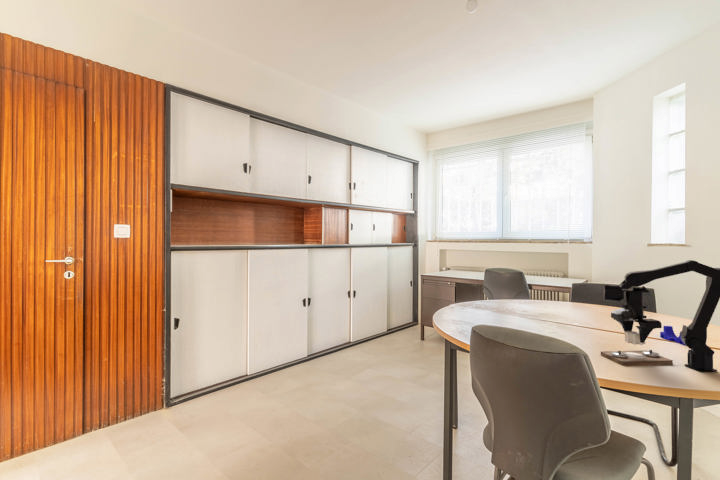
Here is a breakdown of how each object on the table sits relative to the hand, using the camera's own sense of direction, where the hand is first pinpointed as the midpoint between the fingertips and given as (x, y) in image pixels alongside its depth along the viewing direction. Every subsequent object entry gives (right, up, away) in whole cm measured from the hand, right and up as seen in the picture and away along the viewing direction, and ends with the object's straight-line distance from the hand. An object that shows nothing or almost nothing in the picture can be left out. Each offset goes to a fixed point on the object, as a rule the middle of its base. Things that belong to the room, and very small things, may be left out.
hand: (635, 340), depth 138 cm
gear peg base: (0, -6, 0) cm, 6 cm away
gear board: (0, -8, 0) cm, 8 cm away
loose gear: (0, -1, 0) cm, 1 cm away
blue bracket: (+38, -8, +23) cm, 45 cm away
